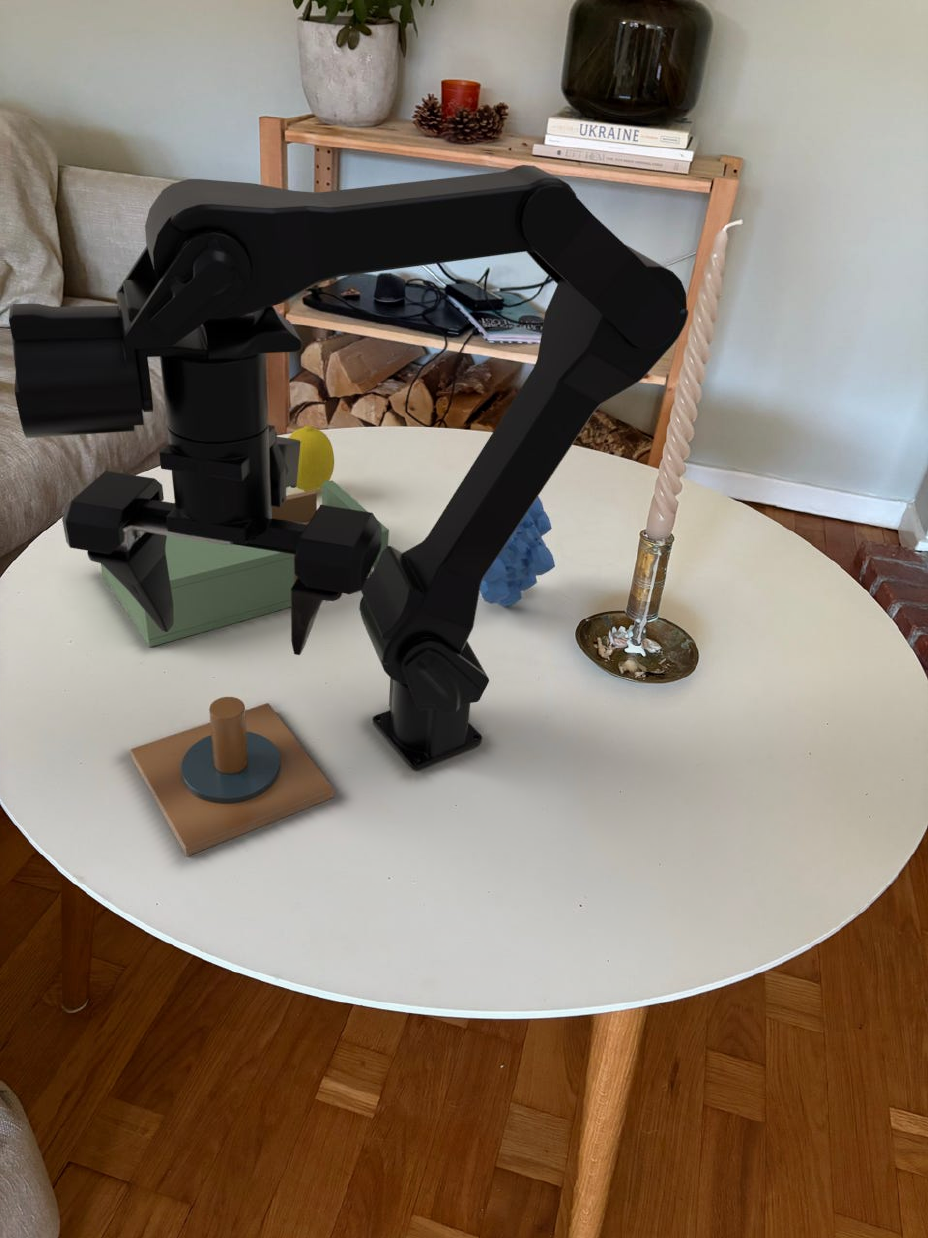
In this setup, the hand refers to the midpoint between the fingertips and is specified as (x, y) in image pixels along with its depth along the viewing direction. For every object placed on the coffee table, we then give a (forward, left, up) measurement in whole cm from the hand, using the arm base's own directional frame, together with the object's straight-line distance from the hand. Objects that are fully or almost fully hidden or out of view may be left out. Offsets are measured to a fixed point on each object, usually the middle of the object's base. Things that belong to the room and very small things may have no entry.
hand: (233, 639), depth 64 cm
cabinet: (+23, -6, -12) cm, 27 cm away
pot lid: (-1, +1, -11) cm, 11 cm away
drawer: (+23, -17, -11) cm, 31 cm away
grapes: (+7, -31, -12) cm, 34 cm away
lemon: (+36, -24, -12) cm, 45 cm away
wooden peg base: (-1, +1, -12) cm, 12 cm away
